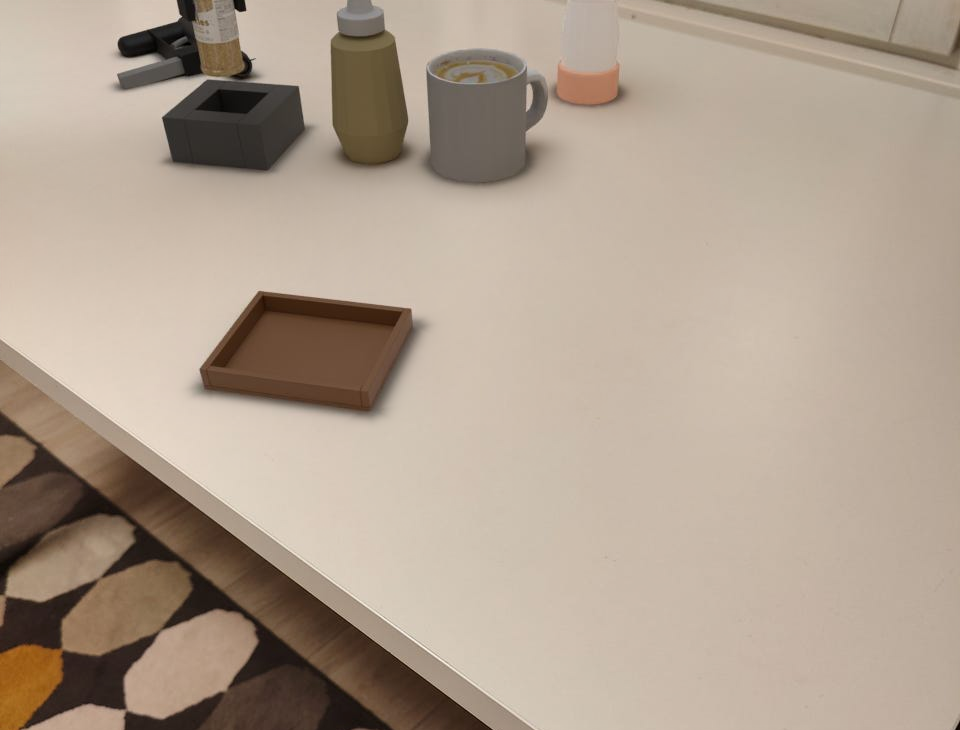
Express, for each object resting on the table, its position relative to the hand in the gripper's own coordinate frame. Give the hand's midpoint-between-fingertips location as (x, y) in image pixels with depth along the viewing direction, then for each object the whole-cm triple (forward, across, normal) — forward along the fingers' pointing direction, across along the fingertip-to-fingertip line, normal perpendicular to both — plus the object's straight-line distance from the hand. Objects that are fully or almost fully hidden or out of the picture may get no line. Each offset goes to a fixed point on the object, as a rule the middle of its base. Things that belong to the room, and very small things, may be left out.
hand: (213, 12), depth 94 cm
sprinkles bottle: (+6, 0, 0) cm, 6 cm away
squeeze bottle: (+14, +12, -10) cm, 21 cm away
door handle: (+14, +2, +28) cm, 31 cm away
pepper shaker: (+14, +41, -9) cm, 44 cm away
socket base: (+14, 0, 0) cm, 14 cm away
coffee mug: (+14, +22, -18) cm, 32 cm away
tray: (+14, -10, -41) cm, 44 cm away
